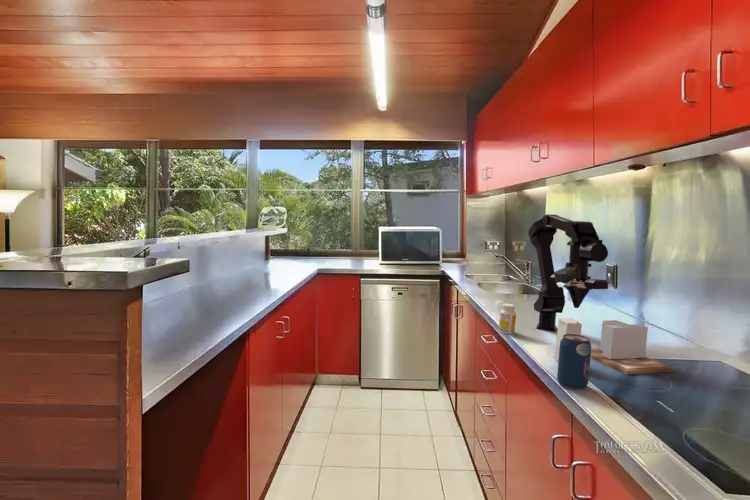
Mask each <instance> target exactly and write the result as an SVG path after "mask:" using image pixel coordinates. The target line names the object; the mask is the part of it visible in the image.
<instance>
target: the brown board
mask: <svg viewBox="0 0 750 500" xmlns="http://www.w3.org/2000/svg"><path fill="white" fill-rule="evenodd" d="M602 355H603V351H601V350H600V348H591V358H592V360H593V361H596V362H598V363H601V364H603V365H605V366H607V367H608V368H611V369H614V370H616V371H617V372H620V373H622V374H624V375H639V374H640V375H641V374H655V373H659V374H660V373H672V372H673V373H674V372H675V367H673V366H670V365H668V364H666V363H663V362H661V361H658V360H656V359H653V358H651V357H648V356H645V358H627V359H608V358H606V357H604V356H602ZM591 358H590V359H591Z"/></svg>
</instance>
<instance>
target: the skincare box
mask: <svg viewBox="0 0 750 500" xmlns="http://www.w3.org/2000/svg"><path fill="white" fill-rule="evenodd" d="M582 327H583V324H582V323H581V322H579V321H578V320H576V319H574V318H571V317H559V318H558V325H557V331H556V332H557V333H556V334H557V335H556V342H555V351H554V359H555V361H557V362H558V361H559V349H560V341H561V340H562V338H563V335H565V334H576V335H581V336H582Z"/></svg>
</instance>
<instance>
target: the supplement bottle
mask: <svg viewBox="0 0 750 500" xmlns="http://www.w3.org/2000/svg"><path fill="white" fill-rule="evenodd" d="M516 319H517V312H516V311H515V304H511V303H503V304H502V309H501V310H500V312H499V324H498V332H500V333H501V334H505V335H506V334H507V335H512V334H515V332H516V331H515V330H516V329H515V328H516Z"/></svg>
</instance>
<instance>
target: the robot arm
mask: <svg viewBox="0 0 750 500" xmlns="http://www.w3.org/2000/svg"><path fill="white" fill-rule="evenodd" d="M558 230H560V231H561V232H562V231H563V232H564V235H565V236H567V237H568V238H570V240H568V241H567V243H566V245H567V246H569V259H568V260H569V262H566V263H565V267H563V268H561V269H558V270H556V271H555V267H554V261H553V255H552V250H551V249H552V248H551V245H552V244H553V242H554V236H555V235H556V233H557V232H558ZM527 235H528V237H529V240H530V243H531V245H532V246H533V247H534V248H535V251H536V254H537V261H538V262H537V263H538V268H539V275H540V281H541V287H540V289H539V291H538V298H537V299H536V301H534V303H533V309H534V311H535V312H538V323H537V325H536V329H538V330H544V331H545V330H546V331H550V332H551V331H552V332H557V331H556V330H557V329H558V325H557V326H556V322H557V321H556V319H557V314H562V313H563V311H564V308H565V306H566V305H565V304H566V296H565V293H564V291H565V290H564V288H565V289H566V290H567V291H568V293H569V295H570V298H571V301H572V305H573V307H574V308H575V309H578V308H580V306H581V304H582V303H583V301H584V299H585V298H586V296H587V295H588V294H589V292H590V291H592V290H608V289H609V282H608V281H607V279H601V278H591V277H592V276H590V275H589V268H591V267H592V263H589V262H597V263H602V262H604V261H605V260H606V259H607V257H608V256H609V251H608V247H606V246H607V245H605V244H603V239H600V236H599V235H598V233H597V230H596V227H595V226H594V224H593V222H591V221H583V220H582V221H580V220H579V221H578V220H572V219H569V218H567V217H563V216H560V215H558V214H544V215H543V217H542V218H540V219H539V220H537V221H535V222H533V223H532V225H531V226H530V227H529V228H528V234H527ZM558 283H562V284H564V285H562V286H559V285H558ZM574 308H573V309H574Z"/></svg>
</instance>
